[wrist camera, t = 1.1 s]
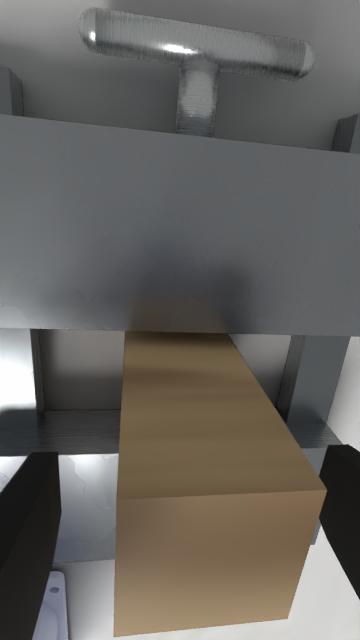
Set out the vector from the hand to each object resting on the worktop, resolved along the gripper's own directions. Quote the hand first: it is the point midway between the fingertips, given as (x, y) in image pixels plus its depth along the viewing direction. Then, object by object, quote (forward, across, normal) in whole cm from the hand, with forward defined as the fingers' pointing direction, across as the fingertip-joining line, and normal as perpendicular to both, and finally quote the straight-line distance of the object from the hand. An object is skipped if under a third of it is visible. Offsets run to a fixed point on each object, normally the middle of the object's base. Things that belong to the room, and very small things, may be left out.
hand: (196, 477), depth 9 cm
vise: (+7, 0, 0) cm, 7 cm away
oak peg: (+7, 0, 0) cm, 7 cm away
